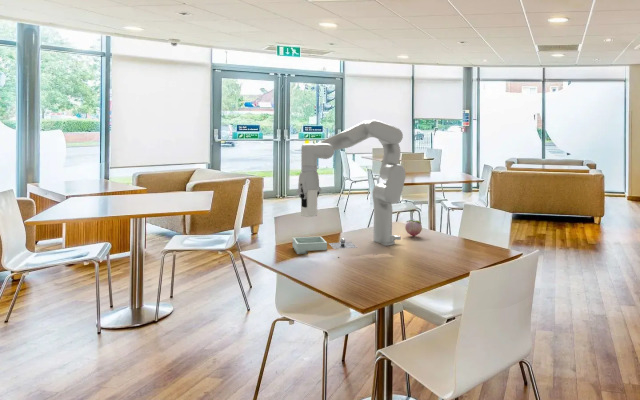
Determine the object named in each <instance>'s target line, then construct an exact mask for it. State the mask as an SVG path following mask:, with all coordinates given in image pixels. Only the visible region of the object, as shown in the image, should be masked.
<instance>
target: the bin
mask: <svg viewBox="0 0 640 400" xmlns="http://www.w3.org/2000/svg"><path fill="white" fill-rule="evenodd" d="M292 248H294V249H293V250H294V251H295V252H296V254H297V255H302V254H303V255H305V254H306V255H307V254H309V253H308V251H310V252H311V251H325V250H328V242H327V241H326V240H325V239H324V238H323V237H322V235H321V236H320V235H319V236H318V235H317V236H301V237H299V236H298V237H296V236H295V237H292Z"/></svg>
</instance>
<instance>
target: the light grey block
mask: <svg viewBox="0 0 640 400" xmlns="http://www.w3.org/2000/svg"><path fill="white" fill-rule="evenodd" d="M301 193H302V191H301ZM306 199H307V207H302V199H301V198H300V216H301V217H305V218H313V217H318V198H317V190H308V192H307V196H306Z"/></svg>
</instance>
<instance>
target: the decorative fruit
mask: <svg viewBox="0 0 640 400" xmlns="http://www.w3.org/2000/svg"><path fill="white" fill-rule="evenodd" d="M422 226H423V225H422V222H421V221H420V220H414V219H413V220H411V219H408V220H406V223H405V226H404V227H405V232H407V234H409V235H410V236H412V237H416V236H418V235H419V234H420V233H421V232H422V230H423V227H422Z"/></svg>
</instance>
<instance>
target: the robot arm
mask: <svg viewBox="0 0 640 400" xmlns="http://www.w3.org/2000/svg"><path fill="white" fill-rule="evenodd" d="M403 136H404V135H403V131H402V130H401V129H400V128H398V127H396V126H395V125H391V124H388V123H385V122H384V121H380V120H376V119H368V120H363V121H362V122H360V123H358V124H356V125H354V126H352V127H350V128H348V129H345V130H343V131H341V132H338V133H337V134H334V135H331V136H329V137H327V138H325V139H323V140H321V141H318V142H317V143H304V144H301V152H300V153H301V155H300V156H301V161H300V162H301V165H300V166H301V172H300V173H299V176H298V183H297V184H298V187H297V190H296V192H295V193H296V194H297V195H298V196H299V198H300V200H301V199H302V207H307V199H306V196H307V192H308V190H317V199H318V198H319V194H320V193H321V192H322V188H321V186H320V179H319V178H320V177H319V173H318V169H319V167H318V159H323V160H328V159H331V158H332V157H333V156H334V154H335V151H338V150H342V149H349V148H353V146H355V145H358V144H359V143H362V142H363V141H364V142H365V140H367V139H369V138H375V139H377V140H378V141H379V143H380V144H381V145H382V149H383V156H382V157H383V158H382V161H381V165H380V169H379V177H380V178H381V179H382V180H384V181H385V182H380V183H377V184H376V185H375V186H374V187H373V190H372V199H373V237H372V238H373V242H374V243H379V244H380V245H381V246H384V247H387V246H388V247H389V246H394V245H395V244H396V243H395V241H396V240H397V241H398V240H401V239H402V237H401V235H394V234H392V233H393V205H394V204H396V203H398V202H399V201H400V199H401V197H402V195H403V194H402V193H403V189H404V185H405V182H406V181H405V180H406V170H405V168H404V166H403V165H402V164H400V159H401V153H402V152H401V147H400V143H401V142H402V140H403V139H404V137H403ZM301 191H302V193H301Z"/></svg>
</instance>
